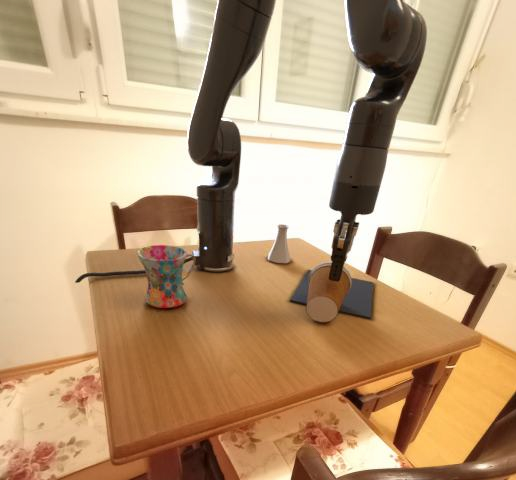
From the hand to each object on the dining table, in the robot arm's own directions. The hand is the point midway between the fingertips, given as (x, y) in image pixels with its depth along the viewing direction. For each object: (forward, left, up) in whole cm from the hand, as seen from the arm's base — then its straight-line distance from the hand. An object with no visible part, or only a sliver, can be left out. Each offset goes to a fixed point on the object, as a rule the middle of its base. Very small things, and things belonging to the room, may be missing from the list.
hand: (334, 279), depth 60 cm
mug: (-31, +12, -9) cm, 34 cm away
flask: (+1, +37, -9) cm, 38 cm away
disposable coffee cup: (-2, -2, -6) cm, 6 cm away
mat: (+9, +13, -9) cm, 18 cm away
